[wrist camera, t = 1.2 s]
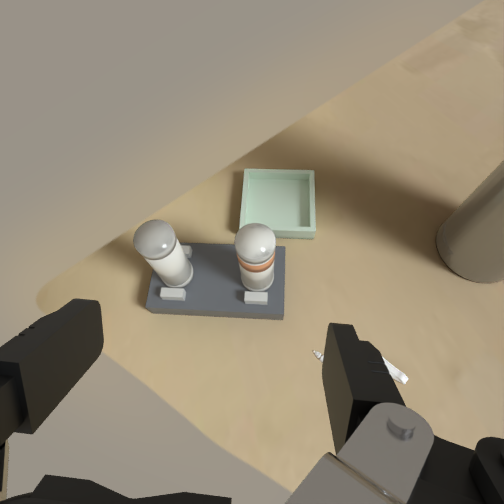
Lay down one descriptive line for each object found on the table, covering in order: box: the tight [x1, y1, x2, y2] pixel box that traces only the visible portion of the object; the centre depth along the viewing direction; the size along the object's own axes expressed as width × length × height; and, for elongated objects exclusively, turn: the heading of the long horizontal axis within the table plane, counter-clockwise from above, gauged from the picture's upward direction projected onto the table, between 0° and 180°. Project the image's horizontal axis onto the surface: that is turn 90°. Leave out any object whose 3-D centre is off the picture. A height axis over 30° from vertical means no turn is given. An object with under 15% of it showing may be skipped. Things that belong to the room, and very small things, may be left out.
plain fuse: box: [133, 220, 194, 288], centre depth 33 cm, size 4×4×9 cm
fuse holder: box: [145, 243, 285, 320], centre depth 38 cm, size 15×8×4 cm, turn 86°
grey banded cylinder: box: [234, 223, 276, 292], centre depth 33 cm, size 4×4×9 cm
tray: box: [239, 169, 316, 239], centre depth 43 cm, size 9×9×2 cm
